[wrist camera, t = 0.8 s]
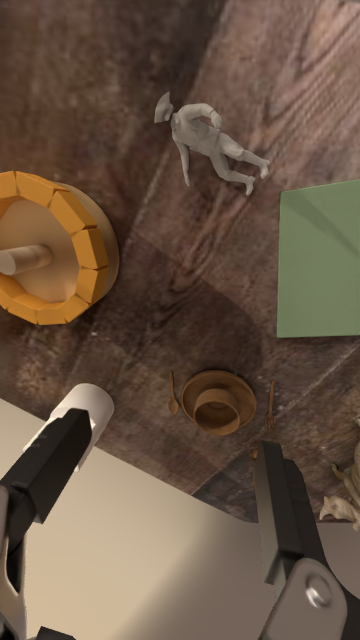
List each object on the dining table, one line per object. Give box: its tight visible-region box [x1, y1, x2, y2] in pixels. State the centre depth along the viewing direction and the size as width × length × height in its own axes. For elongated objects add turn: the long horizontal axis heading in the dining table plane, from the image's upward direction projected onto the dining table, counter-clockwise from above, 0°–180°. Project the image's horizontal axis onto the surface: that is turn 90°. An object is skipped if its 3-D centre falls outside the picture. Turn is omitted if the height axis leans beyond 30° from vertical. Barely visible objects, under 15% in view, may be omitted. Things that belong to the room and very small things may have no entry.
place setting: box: [168, 370, 274, 488], centre depth 38 cm, size 18×20×6 cm
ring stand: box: [0, 181, 119, 303], centre depth 30 cm, size 17×17×10 cm
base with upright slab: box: [22, 383, 114, 472], centre depth 40 cm, size 9×9×12 cm
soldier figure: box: [155, 92, 269, 196], centre depth 25 cm, size 8×5×12 cm
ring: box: [0, 171, 109, 325], centre depth 29 cm, size 17×17×3 cm
